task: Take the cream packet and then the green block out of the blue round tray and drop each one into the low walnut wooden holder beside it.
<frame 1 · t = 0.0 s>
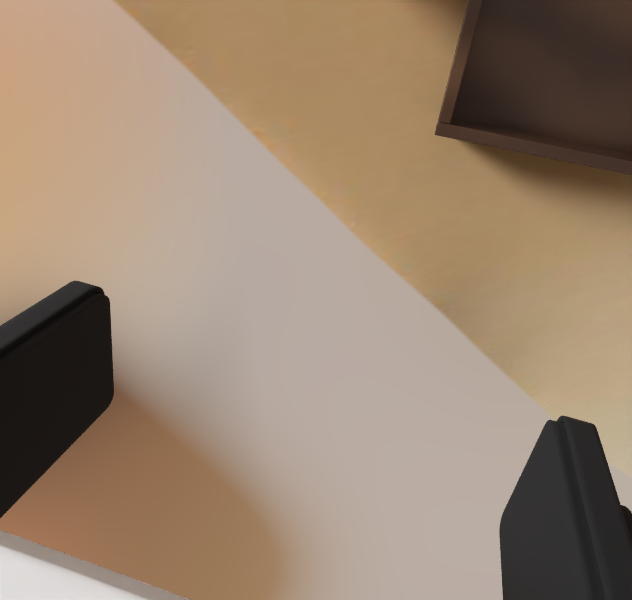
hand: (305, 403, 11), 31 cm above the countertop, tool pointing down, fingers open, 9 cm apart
wooden holder: (582, 36, 33), on the countertop
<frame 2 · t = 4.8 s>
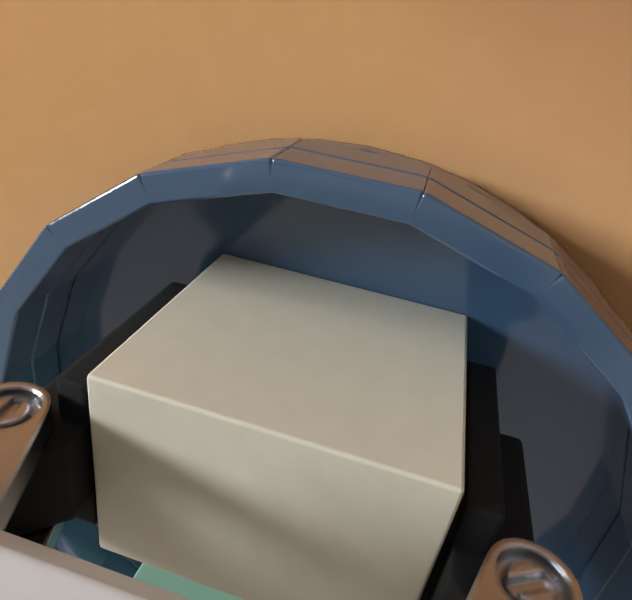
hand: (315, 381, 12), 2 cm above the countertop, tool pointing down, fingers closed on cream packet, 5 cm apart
green block: (292, 531, 16), resting on blue round tray
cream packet: (326, 356, 13), point 1 cm above the countertop, touching blue round tray, gripper
blue round tray: (312, 440, 15), on the countertop
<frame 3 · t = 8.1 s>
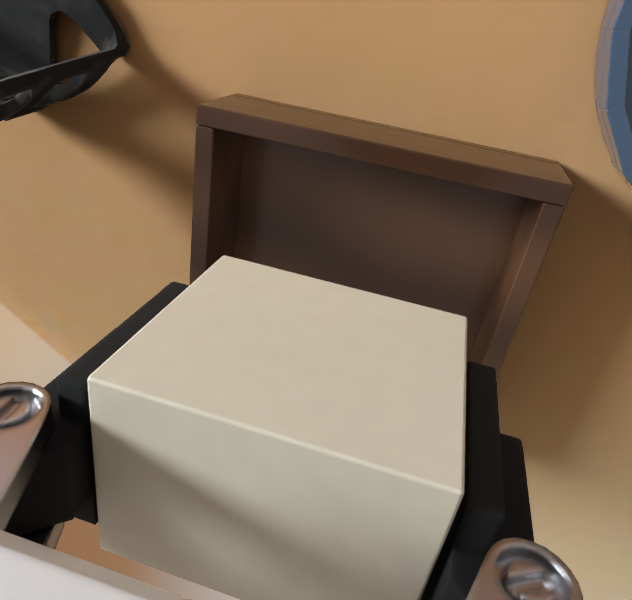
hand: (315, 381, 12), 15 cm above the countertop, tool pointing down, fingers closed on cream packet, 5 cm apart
wooden holder: (359, 262, 27), on the countertop
holder: (36, 45, 26), on the countertop
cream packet: (326, 357, 13), point 14 cm above the countertop, touching gripper
when the fingers open (2 cm above the countertop, at t = 11.7 s): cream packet stays where it is, resting on wooden holder.
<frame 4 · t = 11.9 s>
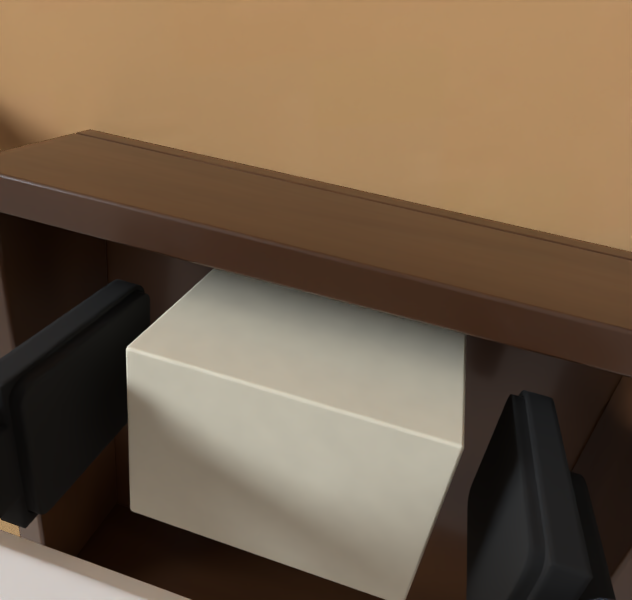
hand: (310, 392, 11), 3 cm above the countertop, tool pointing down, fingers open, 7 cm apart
wooden holder: (323, 415, 15), on the countertop
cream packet: (335, 340, 14), point 1 cm above the countertop, touching wooden holder
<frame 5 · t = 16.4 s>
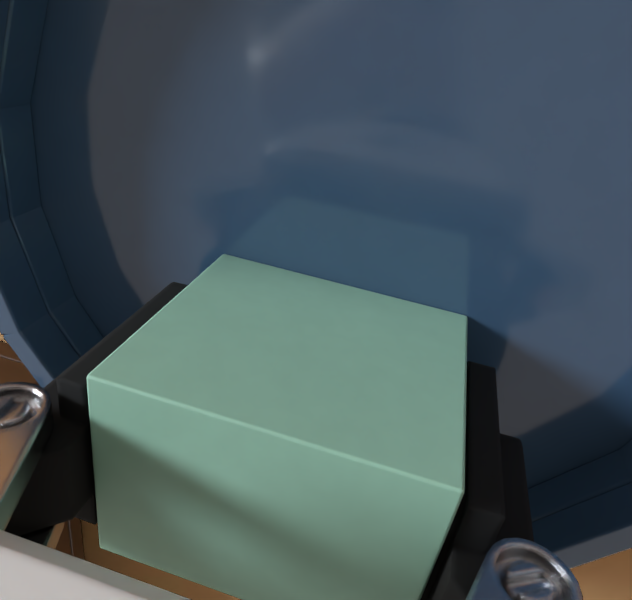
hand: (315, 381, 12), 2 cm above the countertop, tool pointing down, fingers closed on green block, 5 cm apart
green block: (326, 356, 13), point 1 cm above the countertop, touching blue round tray, gripper
blue round tray: (355, 224, 11), on the countertop
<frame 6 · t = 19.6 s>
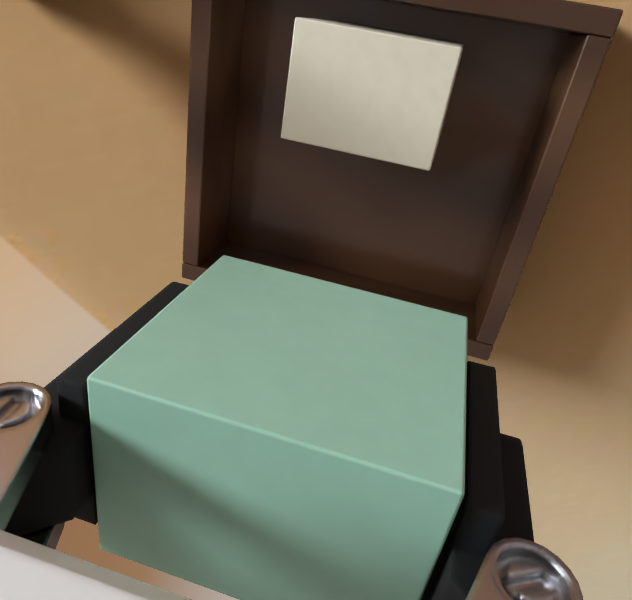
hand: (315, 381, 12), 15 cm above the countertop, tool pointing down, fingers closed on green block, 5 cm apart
wooden holder: (372, 151, 24), on the countertop
green block: (326, 357, 13), point 14 cm above the countertop, touching gripper
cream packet: (385, 83, 22), point 1 cm above the countertop, touching wooden holder
when the fingers open (2 cm above the countertop, at t = 23.3 s): green block stays where it is, resting on wooden holder.
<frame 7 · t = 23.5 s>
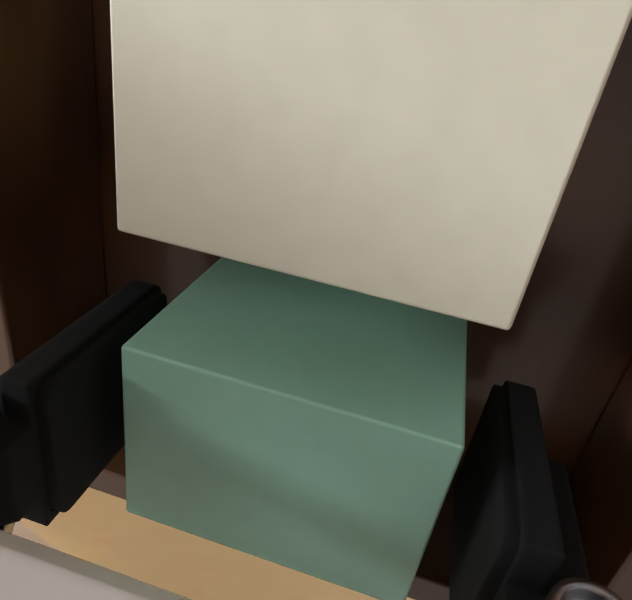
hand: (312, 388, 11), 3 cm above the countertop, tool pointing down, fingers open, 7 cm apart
wooden holder: (361, 221, 12), on the countertop
green block: (334, 339, 13), point 1 cm above the countertop, touching wooden holder
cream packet: (384, 89, 11), point 1 cm above the countertop, touching wooden holder
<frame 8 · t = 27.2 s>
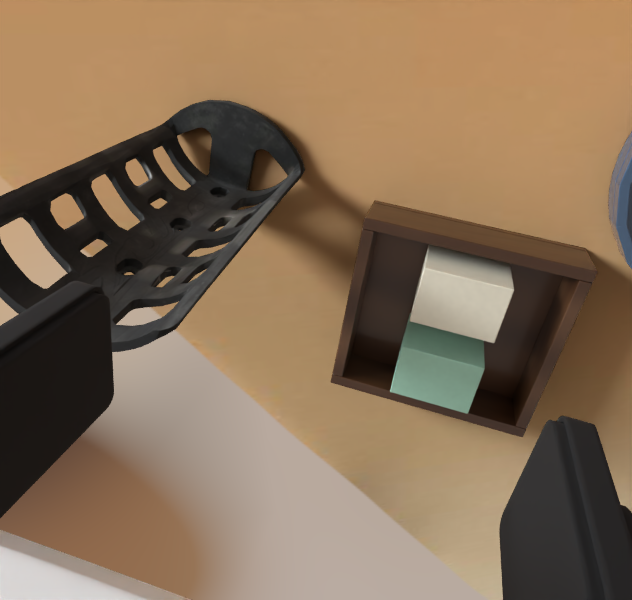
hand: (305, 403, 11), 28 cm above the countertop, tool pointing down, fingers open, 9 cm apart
wooden holder: (450, 307, 40), on the countertop
holder: (236, 165, 40), on the countertop
green block: (439, 344, 41), point 1 cm above the countertop, touching wooden holder
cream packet: (461, 275, 38), point 1 cm above the countertop, touching wooden holder
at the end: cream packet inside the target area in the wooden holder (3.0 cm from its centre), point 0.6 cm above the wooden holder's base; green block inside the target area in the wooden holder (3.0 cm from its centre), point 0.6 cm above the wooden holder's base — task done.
